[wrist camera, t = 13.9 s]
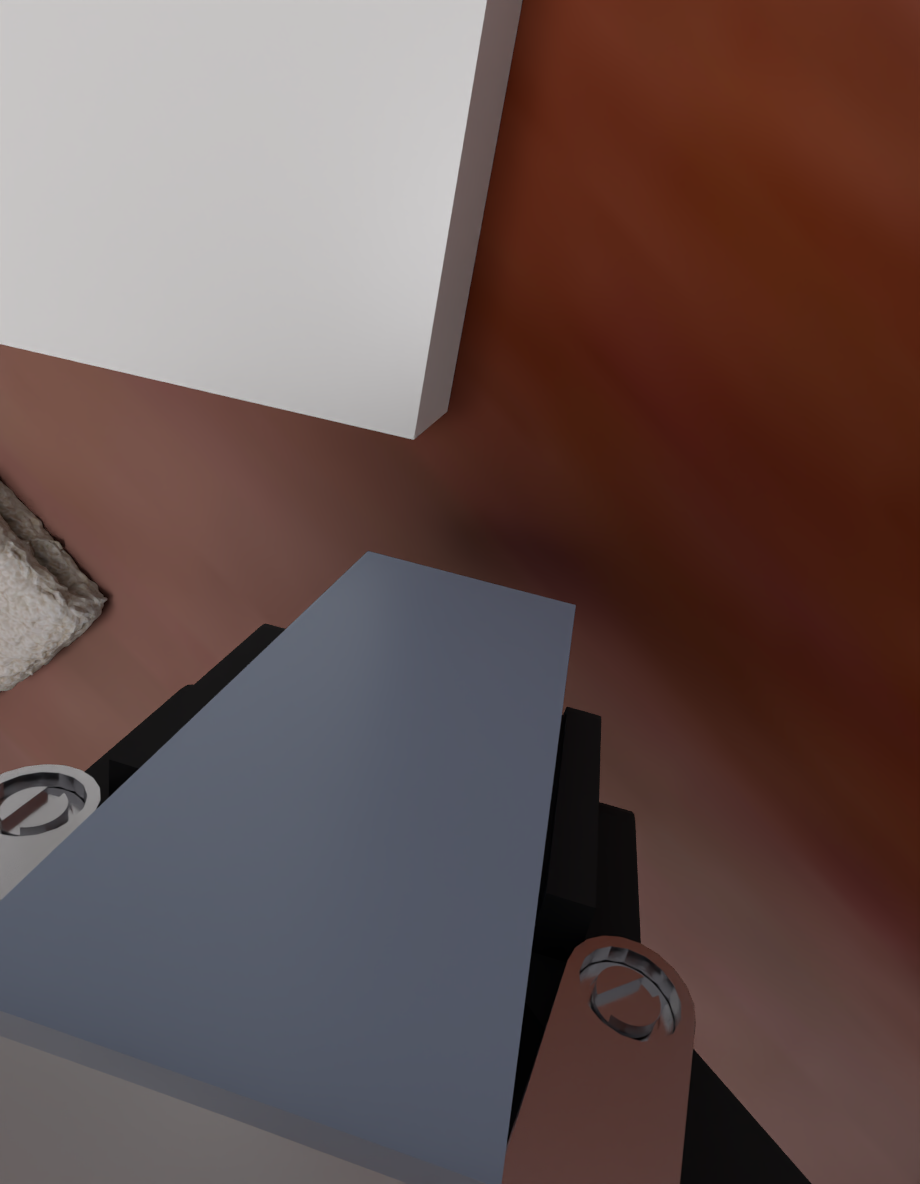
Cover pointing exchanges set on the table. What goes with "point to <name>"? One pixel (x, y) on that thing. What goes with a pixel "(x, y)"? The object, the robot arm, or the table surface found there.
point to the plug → (327, 871)
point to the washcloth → (37, 594)
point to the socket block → (252, 193)
